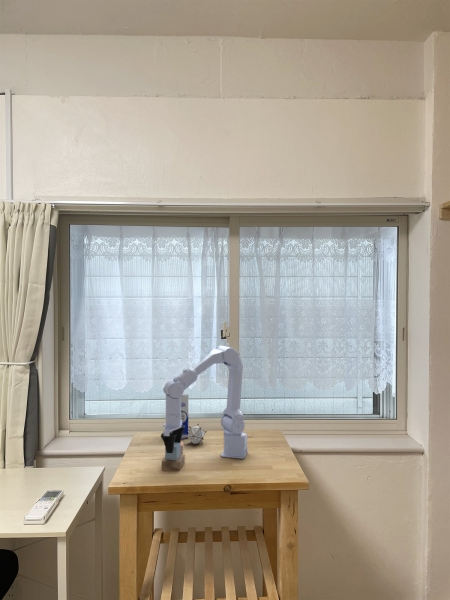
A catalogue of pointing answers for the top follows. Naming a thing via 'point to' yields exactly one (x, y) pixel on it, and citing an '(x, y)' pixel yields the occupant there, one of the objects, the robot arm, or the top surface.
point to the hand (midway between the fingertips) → (173, 449)
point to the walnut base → (173, 463)
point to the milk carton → (184, 415)
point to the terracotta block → (182, 448)
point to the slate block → (174, 452)
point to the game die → (196, 434)
